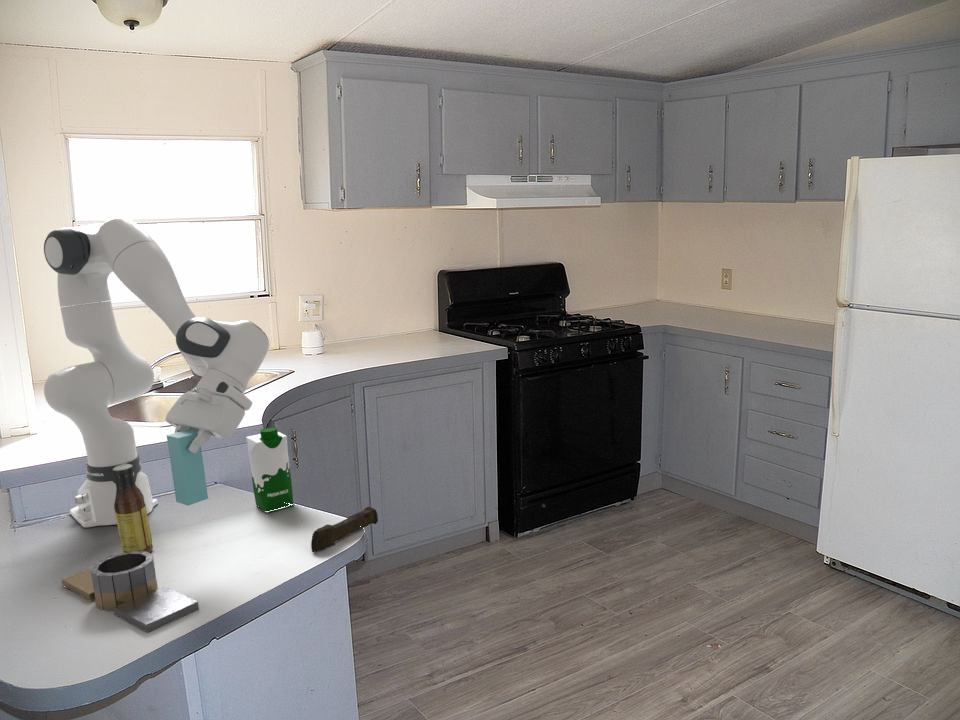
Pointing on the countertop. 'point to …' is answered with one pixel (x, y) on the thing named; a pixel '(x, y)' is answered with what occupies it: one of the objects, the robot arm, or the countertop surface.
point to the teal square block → (187, 469)
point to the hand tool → (342, 529)
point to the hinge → (131, 590)
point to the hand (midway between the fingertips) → (182, 449)
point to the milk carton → (270, 469)
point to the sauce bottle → (131, 512)
